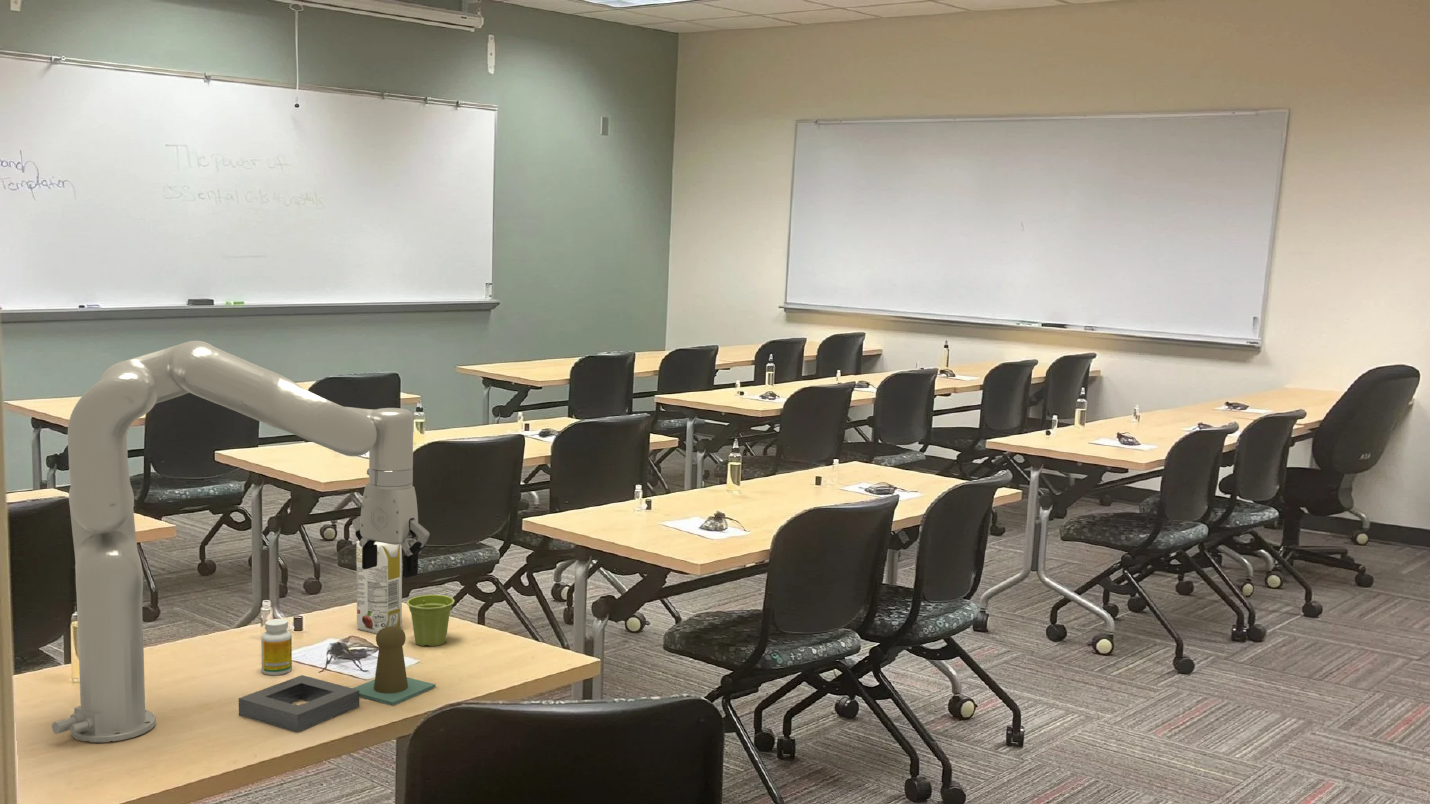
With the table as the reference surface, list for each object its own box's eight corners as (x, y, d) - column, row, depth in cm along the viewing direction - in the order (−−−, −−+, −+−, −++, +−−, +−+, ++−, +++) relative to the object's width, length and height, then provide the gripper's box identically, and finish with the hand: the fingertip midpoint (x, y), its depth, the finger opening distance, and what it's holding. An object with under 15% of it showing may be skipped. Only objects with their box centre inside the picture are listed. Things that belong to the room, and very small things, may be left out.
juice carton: (380, 636, 256) (380, 546, 254) (351, 629, 261) (350, 540, 258) (407, 627, 263) (407, 539, 261) (377, 620, 267) (377, 534, 265)
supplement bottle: (257, 669, 235) (256, 620, 233) (285, 664, 238) (285, 615, 237) (267, 677, 230) (267, 627, 229) (296, 672, 234) (295, 622, 233)
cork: (414, 687, 226) (414, 628, 224) (386, 695, 221) (385, 636, 220) (395, 679, 230) (395, 621, 228) (366, 687, 225) (366, 628, 224)
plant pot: (463, 642, 254) (463, 601, 253) (425, 652, 247) (425, 610, 246) (435, 632, 260) (435, 592, 259) (397, 642, 253) (397, 600, 252)
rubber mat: (393, 705, 218) (393, 702, 218) (347, 693, 224) (347, 690, 224) (435, 687, 228) (435, 684, 228) (390, 676, 233) (390, 672, 233)
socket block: (297, 732, 205) (297, 714, 205) (238, 715, 212) (238, 698, 212) (359, 706, 217) (359, 690, 217) (302, 691, 224) (301, 674, 224)
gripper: (339, 474, 222) (338, 568, 224) (413, 486, 214) (411, 584, 216) (370, 469, 228) (369, 560, 230) (442, 481, 220) (440, 575, 222)
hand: (389, 571), depth 223 cm, fingers open, 9 cm apart
